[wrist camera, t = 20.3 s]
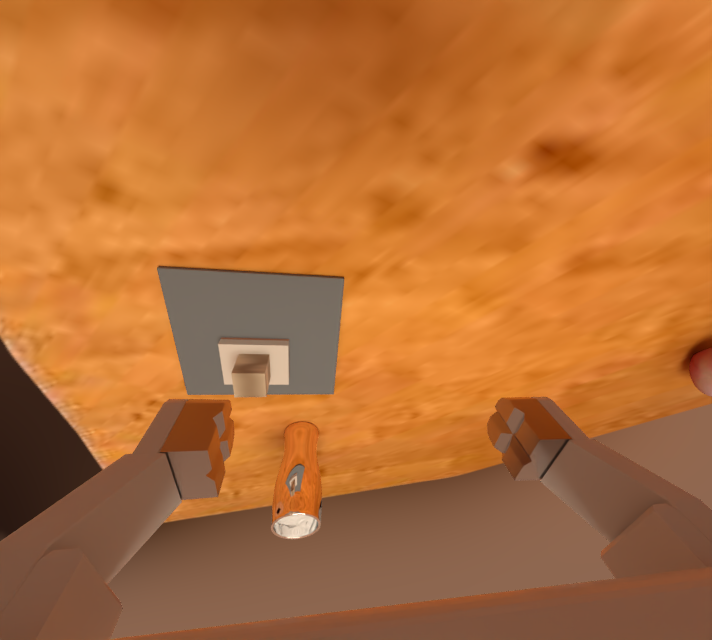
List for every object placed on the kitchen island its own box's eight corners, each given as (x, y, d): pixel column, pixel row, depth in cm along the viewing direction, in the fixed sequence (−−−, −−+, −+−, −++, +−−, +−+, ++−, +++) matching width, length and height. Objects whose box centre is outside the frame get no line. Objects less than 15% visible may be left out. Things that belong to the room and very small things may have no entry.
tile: (288, 345, 39) (218, 344, 38) (288, 384, 43) (224, 384, 41) (289, 339, 41) (221, 337, 39) (289, 377, 44) (227, 377, 43)
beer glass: (299, 413, 49) (292, 507, 36) (329, 430, 52) (333, 522, 39) (273, 435, 51) (258, 531, 38) (303, 450, 54) (299, 544, 41)
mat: (343, 277, 37) (344, 278, 37) (333, 391, 47) (333, 394, 47) (159, 266, 34) (156, 268, 34) (189, 391, 44) (187, 394, 43)
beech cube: (269, 354, 40) (264, 373, 36) (270, 376, 41) (266, 396, 38) (238, 353, 39) (231, 373, 35) (241, 376, 41) (234, 397, 37)
